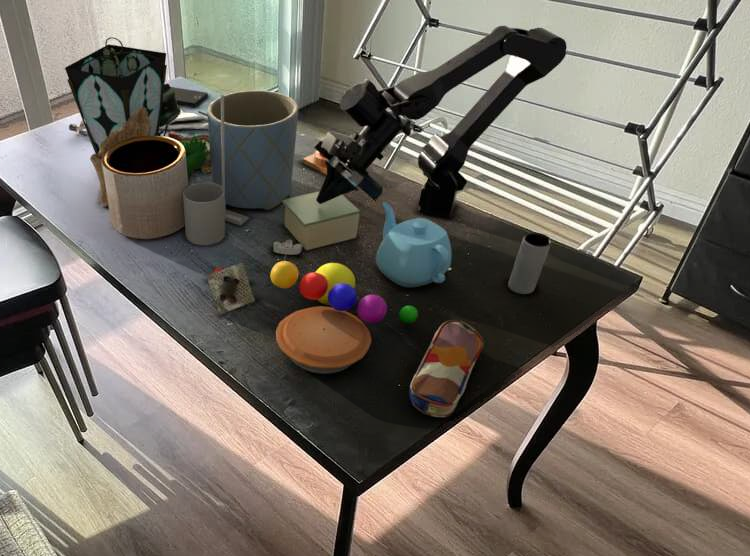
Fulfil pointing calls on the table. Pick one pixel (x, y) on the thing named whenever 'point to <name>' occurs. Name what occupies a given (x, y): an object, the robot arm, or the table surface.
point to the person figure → (78, 128)
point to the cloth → (188, 122)
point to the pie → (323, 339)
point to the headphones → (168, 108)
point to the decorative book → (205, 138)
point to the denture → (174, 135)
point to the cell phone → (189, 96)
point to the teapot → (413, 251)
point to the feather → (180, 129)
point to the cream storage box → (322, 230)
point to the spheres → (336, 290)
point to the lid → (319, 208)
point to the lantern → (117, 88)
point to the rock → (132, 128)
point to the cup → (204, 213)
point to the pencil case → (445, 369)
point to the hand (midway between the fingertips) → (318, 202)
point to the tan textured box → (230, 288)
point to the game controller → (287, 248)
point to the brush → (228, 216)
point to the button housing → (317, 162)
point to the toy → (194, 156)
